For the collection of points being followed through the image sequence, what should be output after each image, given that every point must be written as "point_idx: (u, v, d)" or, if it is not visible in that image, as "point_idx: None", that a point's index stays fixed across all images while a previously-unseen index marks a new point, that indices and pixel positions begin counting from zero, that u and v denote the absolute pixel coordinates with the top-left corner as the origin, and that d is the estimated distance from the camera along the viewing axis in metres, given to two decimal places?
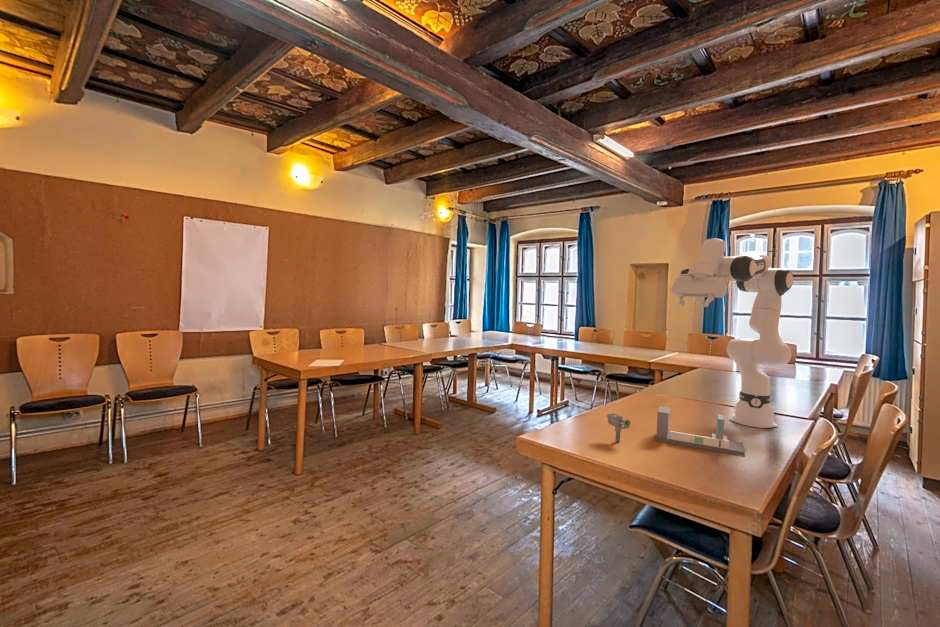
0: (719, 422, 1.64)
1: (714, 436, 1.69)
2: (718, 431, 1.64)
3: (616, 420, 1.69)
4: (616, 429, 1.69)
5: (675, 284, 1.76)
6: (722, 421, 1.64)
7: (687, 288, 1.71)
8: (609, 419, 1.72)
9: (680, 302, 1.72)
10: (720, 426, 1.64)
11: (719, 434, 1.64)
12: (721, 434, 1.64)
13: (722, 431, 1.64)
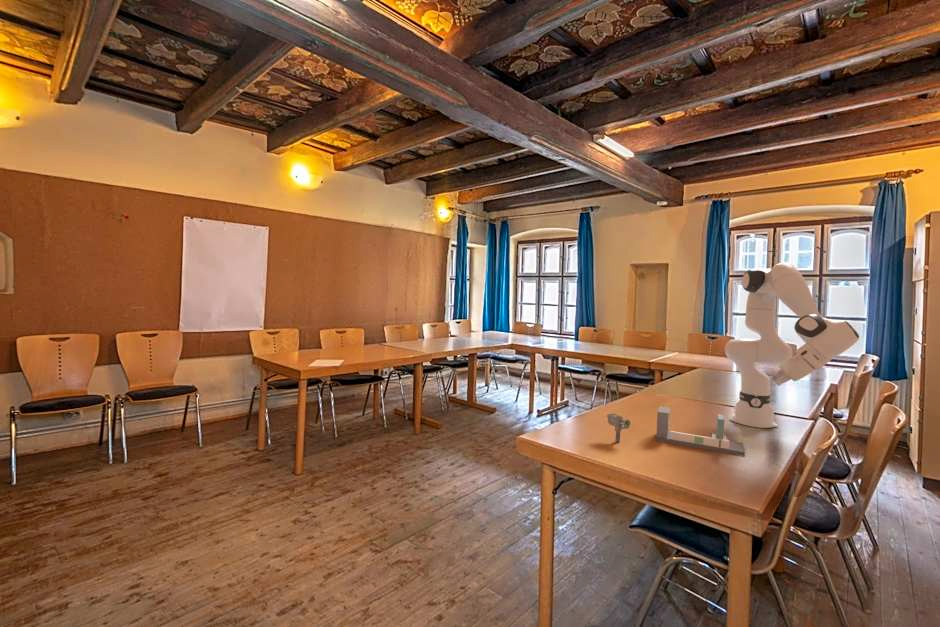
0: (719, 422, 1.64)
1: (714, 436, 1.69)
2: (718, 431, 1.64)
3: (616, 420, 1.69)
4: (616, 429, 1.69)
5: None
6: (722, 421, 1.64)
7: None
8: (609, 419, 1.72)
9: None
10: (720, 426, 1.64)
11: (719, 434, 1.64)
12: (721, 434, 1.64)
13: (722, 431, 1.64)
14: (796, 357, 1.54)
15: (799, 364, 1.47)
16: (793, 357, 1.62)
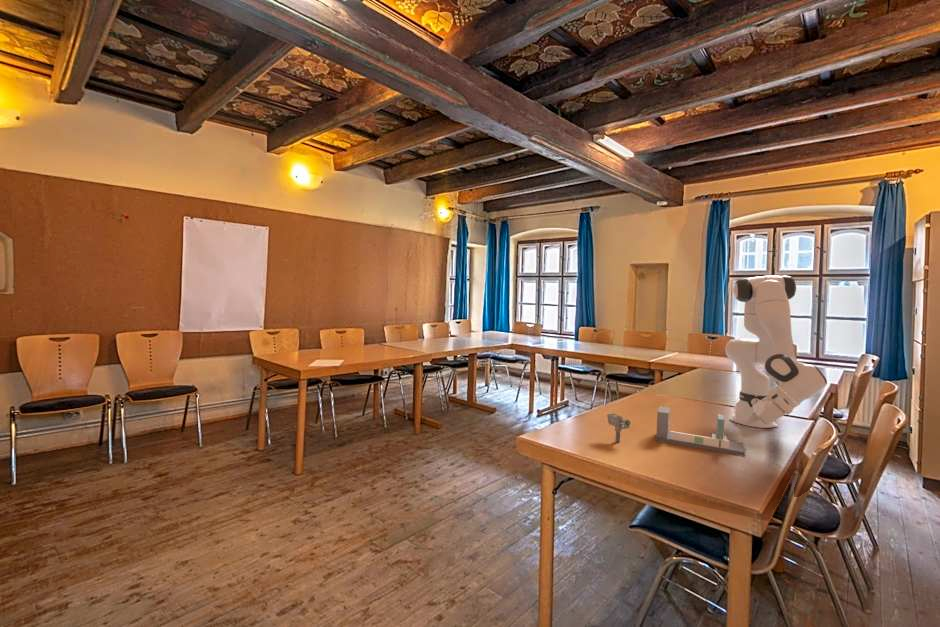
0: (719, 422, 1.64)
1: (714, 436, 1.69)
2: (718, 431, 1.64)
3: (616, 420, 1.69)
4: (616, 429, 1.69)
5: None
6: (722, 421, 1.64)
7: None
8: (609, 419, 1.72)
9: None
10: (720, 426, 1.64)
11: (719, 434, 1.64)
12: (721, 434, 1.64)
13: (722, 431, 1.64)
14: (768, 399, 1.59)
15: (770, 408, 1.52)
16: (766, 398, 1.66)
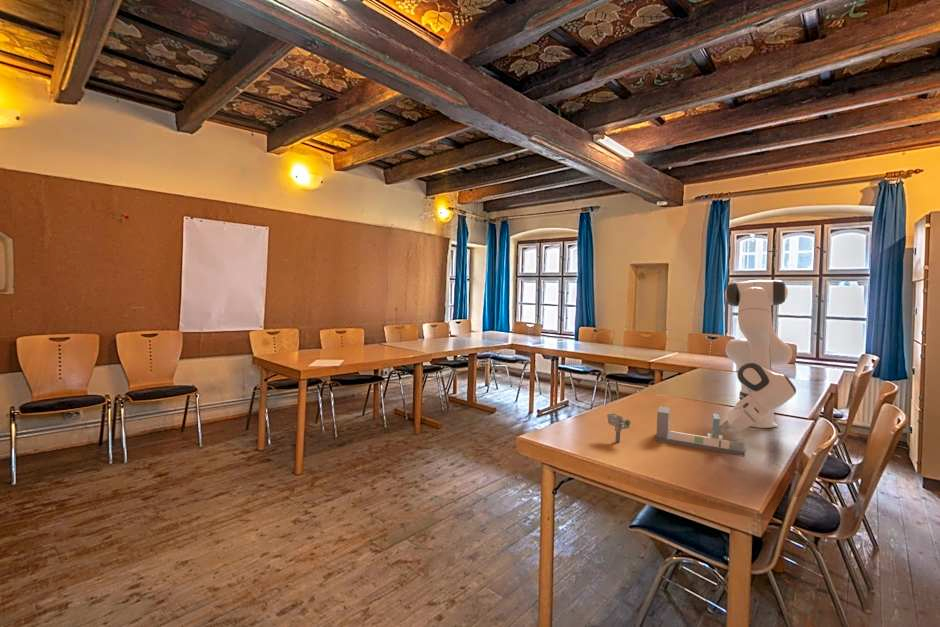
0: (714, 421, 1.65)
1: (710, 435, 1.69)
2: (713, 430, 1.65)
3: (616, 420, 1.69)
4: (616, 429, 1.69)
5: None
6: (717, 420, 1.64)
7: None
8: (609, 419, 1.72)
9: None
10: (715, 425, 1.65)
11: (714, 433, 1.65)
12: (716, 433, 1.65)
13: (717, 430, 1.64)
14: (740, 408, 1.63)
15: (740, 417, 1.56)
16: (739, 405, 1.70)
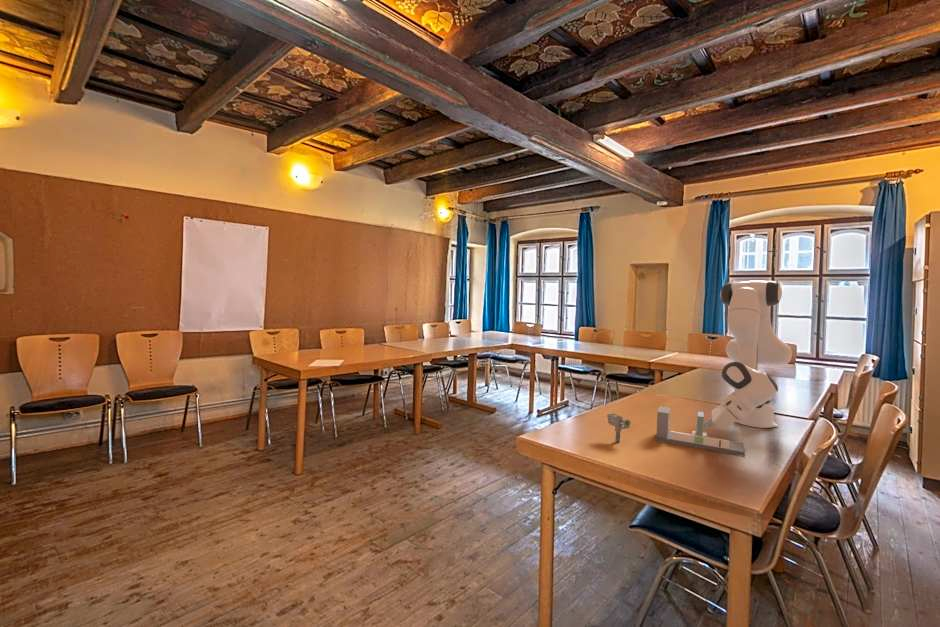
0: (699, 419, 1.67)
1: (694, 433, 1.72)
2: (698, 428, 1.67)
3: (616, 420, 1.69)
4: (616, 429, 1.69)
5: None
6: (701, 418, 1.67)
7: None
8: (609, 419, 1.72)
9: None
10: (700, 423, 1.67)
11: (699, 431, 1.67)
12: (700, 431, 1.67)
13: (701, 428, 1.67)
14: (723, 405, 1.65)
15: (723, 414, 1.58)
16: None
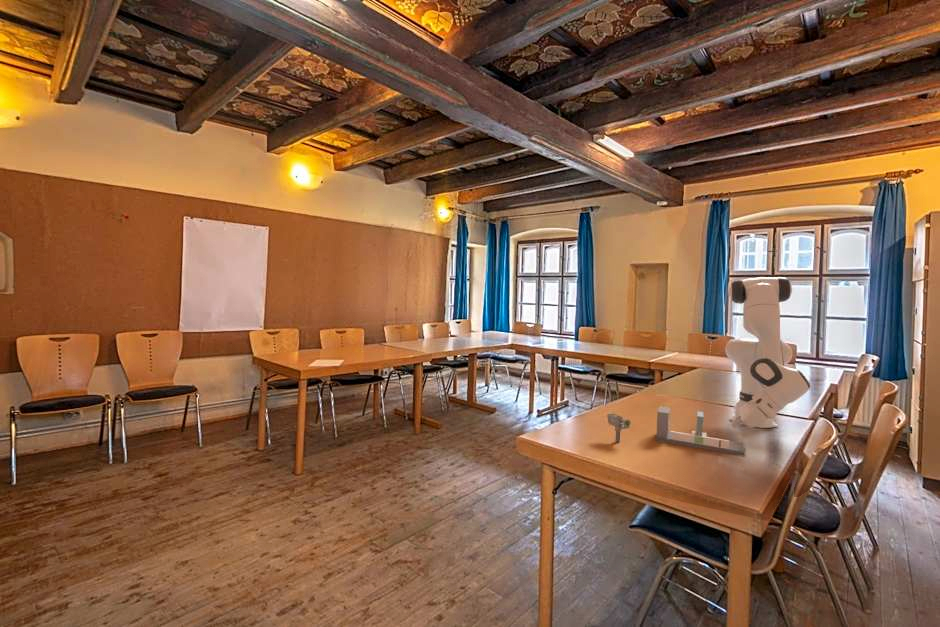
0: (698, 419, 1.67)
1: (694, 433, 1.72)
2: (697, 428, 1.68)
3: (616, 420, 1.69)
4: (616, 429, 1.69)
5: None
6: (701, 418, 1.67)
7: None
8: (609, 419, 1.72)
9: None
10: (699, 423, 1.67)
11: (698, 431, 1.67)
12: (700, 431, 1.67)
13: (701, 428, 1.67)
14: (752, 403, 1.61)
15: (753, 413, 1.54)
16: (751, 401, 1.68)
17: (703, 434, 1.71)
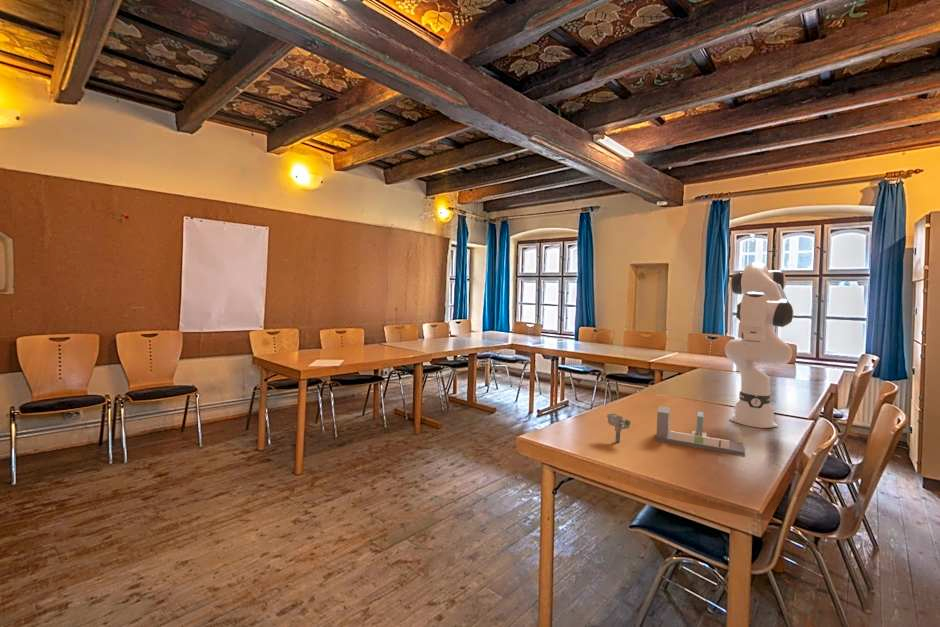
0: (698, 419, 1.67)
1: (694, 433, 1.72)
2: (697, 428, 1.68)
3: (616, 420, 1.69)
4: (616, 429, 1.69)
5: None
6: (701, 418, 1.67)
7: None
8: (609, 419, 1.72)
9: None
10: (699, 423, 1.67)
11: (698, 431, 1.67)
12: (700, 431, 1.67)
13: (701, 428, 1.67)
14: (742, 341, 1.68)
15: (747, 347, 1.61)
16: None
17: (703, 434, 1.71)
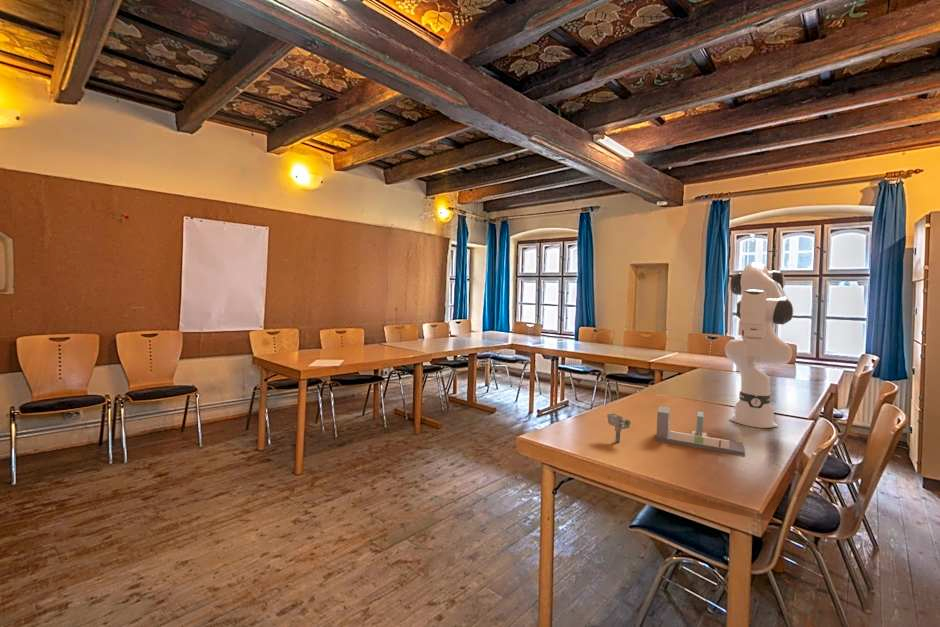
0: (698, 419, 1.67)
1: (694, 433, 1.72)
2: (697, 428, 1.68)
3: (616, 420, 1.69)
4: (616, 429, 1.69)
5: None
6: (701, 418, 1.67)
7: None
8: (609, 419, 1.72)
9: None
10: (699, 423, 1.67)
11: (698, 431, 1.67)
12: (700, 431, 1.67)
13: (701, 428, 1.67)
14: (743, 338, 1.69)
15: (747, 343, 1.61)
16: None
17: (703, 434, 1.71)
